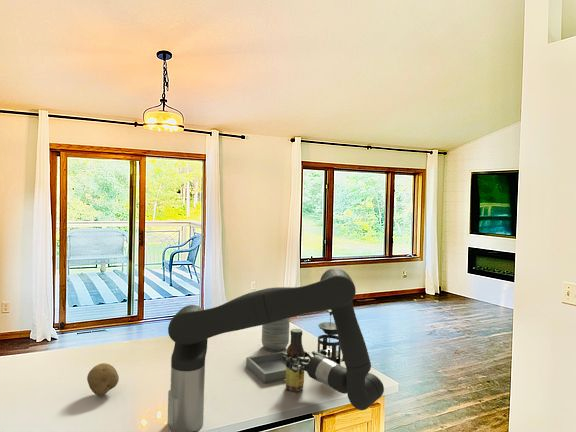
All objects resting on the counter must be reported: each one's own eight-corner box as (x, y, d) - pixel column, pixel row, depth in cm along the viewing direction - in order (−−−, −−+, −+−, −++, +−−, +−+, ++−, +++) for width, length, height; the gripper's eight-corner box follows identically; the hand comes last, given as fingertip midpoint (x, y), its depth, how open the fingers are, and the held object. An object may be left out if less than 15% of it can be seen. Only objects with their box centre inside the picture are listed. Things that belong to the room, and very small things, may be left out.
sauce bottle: (301, 393, 138) (304, 334, 137) (283, 391, 139) (285, 332, 138) (305, 384, 145) (307, 328, 144) (287, 382, 146) (289, 326, 145)
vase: (257, 350, 175) (259, 296, 174) (266, 341, 186) (268, 290, 185) (283, 354, 172) (285, 299, 170) (291, 345, 183) (293, 293, 182)
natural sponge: (109, 385, 139) (110, 356, 138) (123, 394, 133) (124, 363, 132) (82, 395, 132) (82, 364, 131) (95, 404, 126) (96, 372, 125)
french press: (319, 375, 152) (322, 313, 151) (310, 365, 161) (313, 307, 160) (348, 373, 156) (351, 312, 155) (338, 363, 165) (341, 305, 164)
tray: (264, 383, 144) (264, 374, 144) (246, 366, 158) (246, 357, 158) (303, 375, 152) (304, 366, 152) (283, 359, 166) (283, 351, 166)
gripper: (341, 354, 135) (307, 339, 148) (308, 364, 126) (275, 347, 139) (340, 377, 135) (306, 360, 148) (307, 388, 126) (274, 369, 139)
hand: (291, 354), depth 143 cm, fingers closed on sauce bottle, 6 cm apart
